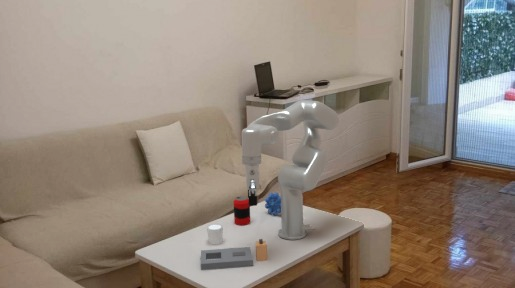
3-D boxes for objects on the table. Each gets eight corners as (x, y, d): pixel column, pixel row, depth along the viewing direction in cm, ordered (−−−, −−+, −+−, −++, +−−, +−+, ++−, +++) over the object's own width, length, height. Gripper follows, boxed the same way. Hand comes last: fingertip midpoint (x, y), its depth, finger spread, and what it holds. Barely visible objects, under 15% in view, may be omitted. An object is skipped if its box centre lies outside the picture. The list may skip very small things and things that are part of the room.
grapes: (289, 215, 243) (289, 191, 241) (281, 219, 238) (280, 195, 236) (270, 210, 251) (270, 187, 248) (262, 214, 246) (261, 191, 243)
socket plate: (250, 252, 204) (250, 246, 204) (252, 265, 193) (252, 259, 192) (201, 256, 203) (201, 250, 202) (201, 269, 191) (200, 263, 190)
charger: (266, 255, 201) (265, 237, 199) (267, 260, 197) (266, 241, 195) (256, 256, 201) (255, 238, 199) (257, 260, 197) (256, 242, 195)
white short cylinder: (226, 239, 218) (225, 224, 216) (219, 246, 211) (219, 230, 210) (211, 237, 220) (210, 223, 218) (205, 244, 214) (204, 229, 212)
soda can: (241, 218, 241) (239, 194, 239) (253, 221, 237) (252, 197, 234) (231, 223, 235) (230, 199, 233) (243, 226, 231) (242, 202, 228)
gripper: (262, 164, 186) (263, 208, 189) (260, 154, 203) (260, 194, 206) (242, 165, 185) (243, 209, 189) (241, 154, 202) (242, 195, 206)
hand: (252, 201), depth 198 cm, fingers open, 9 cm apart
